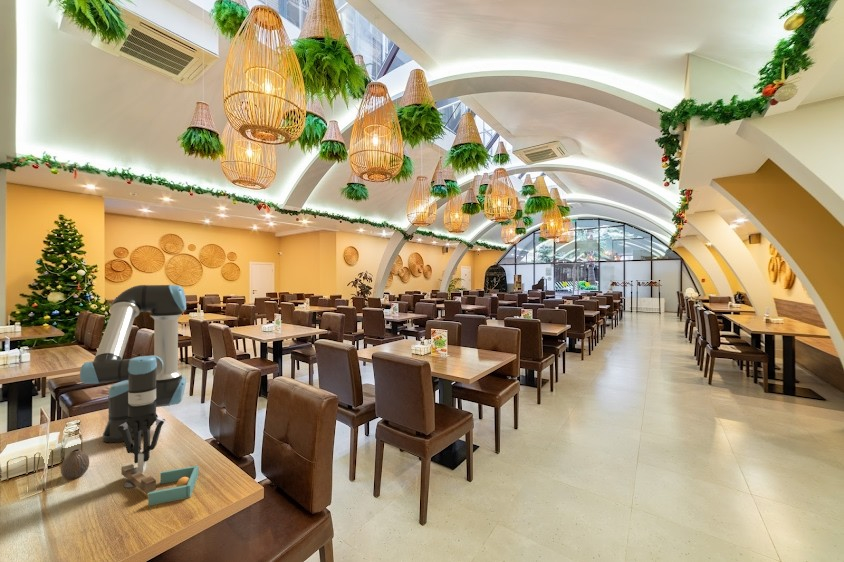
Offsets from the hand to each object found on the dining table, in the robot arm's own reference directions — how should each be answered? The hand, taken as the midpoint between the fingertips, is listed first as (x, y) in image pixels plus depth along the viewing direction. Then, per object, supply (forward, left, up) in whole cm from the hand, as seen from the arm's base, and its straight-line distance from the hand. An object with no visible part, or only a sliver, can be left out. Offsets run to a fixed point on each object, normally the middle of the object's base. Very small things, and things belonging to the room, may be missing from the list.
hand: (141, 470), depth 119 cm
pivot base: (+5, -1, -2) cm, 5 cm away
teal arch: (+14, +12, -2) cm, 19 cm away
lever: (+7, +1, -1) cm, 7 cm away
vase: (-8, -21, -2) cm, 22 cm away
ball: (+14, +15, 0) cm, 21 cm away
